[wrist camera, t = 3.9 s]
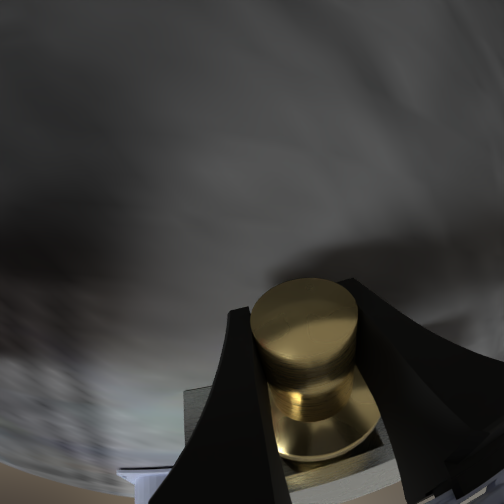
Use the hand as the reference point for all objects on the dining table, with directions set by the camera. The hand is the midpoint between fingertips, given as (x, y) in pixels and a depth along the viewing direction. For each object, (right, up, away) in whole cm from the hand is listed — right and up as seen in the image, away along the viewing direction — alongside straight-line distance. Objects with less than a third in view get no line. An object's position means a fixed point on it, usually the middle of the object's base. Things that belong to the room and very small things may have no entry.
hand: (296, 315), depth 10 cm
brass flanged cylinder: (0, -1, +3) cm, 3 cm away
